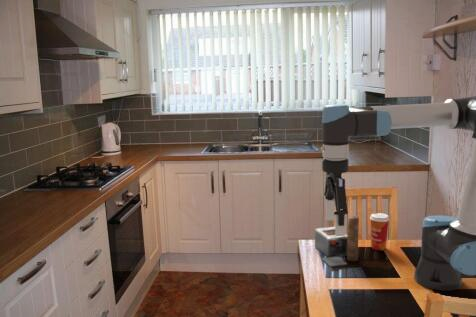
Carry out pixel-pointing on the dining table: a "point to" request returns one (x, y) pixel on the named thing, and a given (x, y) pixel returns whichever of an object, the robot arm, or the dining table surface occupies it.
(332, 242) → the button
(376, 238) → the paper cup
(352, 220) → the stylus
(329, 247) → the box
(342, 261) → the mat
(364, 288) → the dining table surface
